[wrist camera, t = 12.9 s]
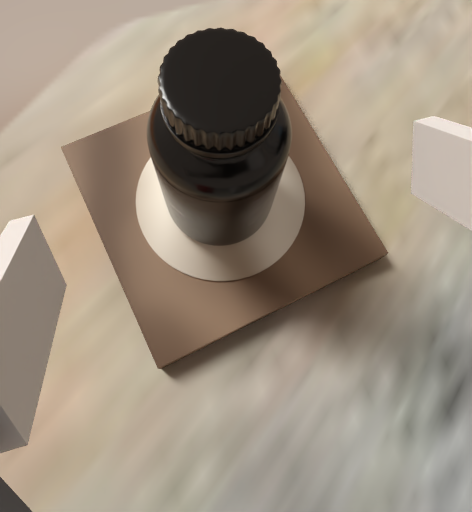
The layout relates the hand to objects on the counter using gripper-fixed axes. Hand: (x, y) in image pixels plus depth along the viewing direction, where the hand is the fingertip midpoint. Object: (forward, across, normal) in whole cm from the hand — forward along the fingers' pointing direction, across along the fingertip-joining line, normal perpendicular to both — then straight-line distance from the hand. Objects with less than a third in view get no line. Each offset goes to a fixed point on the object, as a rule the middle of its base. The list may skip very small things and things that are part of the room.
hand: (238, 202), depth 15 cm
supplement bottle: (+12, +1, -5) cm, 13 cm away
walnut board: (+13, +1, -6) cm, 15 cm away
